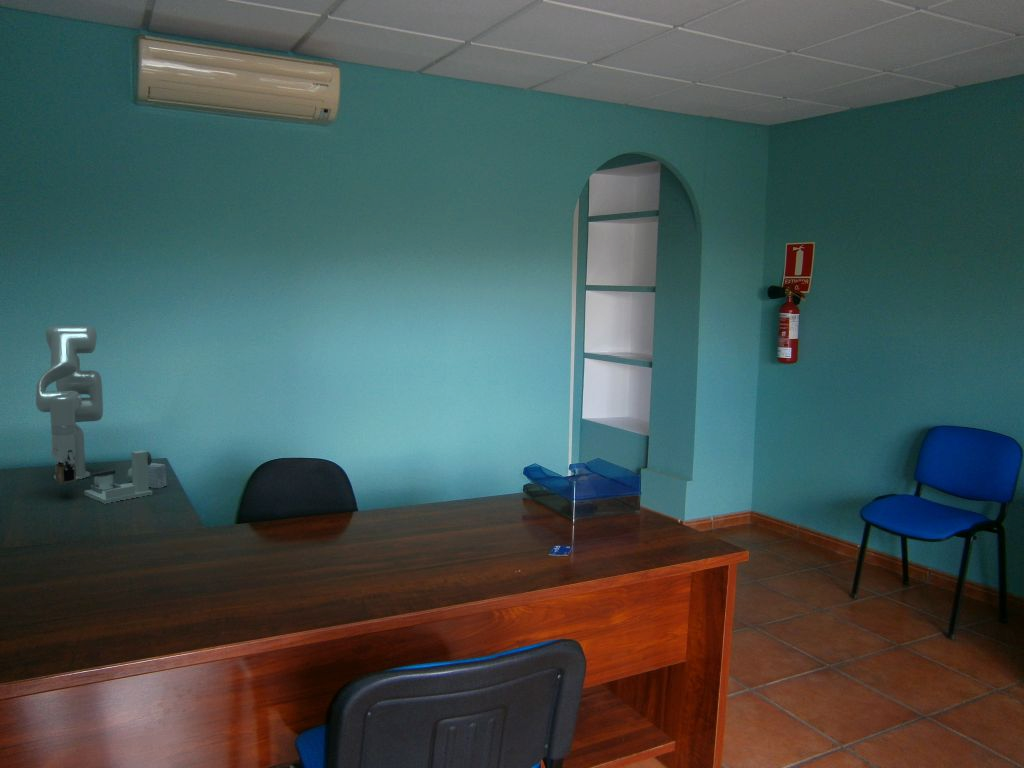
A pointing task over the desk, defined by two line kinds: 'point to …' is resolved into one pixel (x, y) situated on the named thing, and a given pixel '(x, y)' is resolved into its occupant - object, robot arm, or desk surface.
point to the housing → (60, 473)
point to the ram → (103, 479)
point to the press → (130, 489)
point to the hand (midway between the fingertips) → (65, 478)
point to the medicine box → (156, 475)
